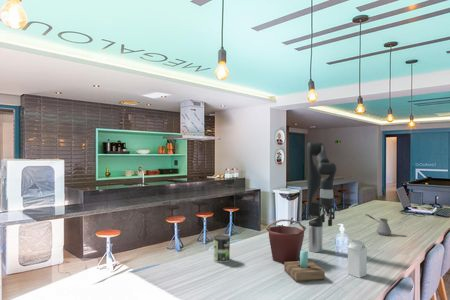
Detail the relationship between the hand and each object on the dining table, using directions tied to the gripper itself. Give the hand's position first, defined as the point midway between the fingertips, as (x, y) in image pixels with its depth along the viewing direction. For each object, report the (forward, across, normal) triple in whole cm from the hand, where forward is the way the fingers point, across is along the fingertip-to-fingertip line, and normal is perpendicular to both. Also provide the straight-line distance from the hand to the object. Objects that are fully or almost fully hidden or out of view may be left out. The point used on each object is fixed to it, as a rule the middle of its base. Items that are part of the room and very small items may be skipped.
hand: (326, 224), depth 181 cm
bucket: (+26, -17, -19) cm, 36 cm away
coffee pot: (+29, -68, +84) cm, 112 cm away
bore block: (+25, +9, -18) cm, 32 cm away
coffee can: (+26, -22, -59) cm, 68 cm away
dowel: (+24, +9, -18) cm, 32 cm away
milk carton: (+26, +13, +12) cm, 31 cm away
